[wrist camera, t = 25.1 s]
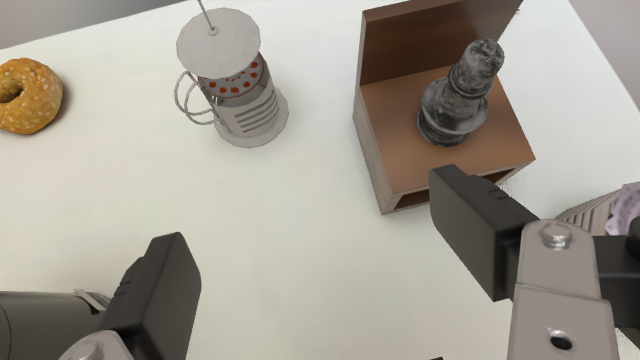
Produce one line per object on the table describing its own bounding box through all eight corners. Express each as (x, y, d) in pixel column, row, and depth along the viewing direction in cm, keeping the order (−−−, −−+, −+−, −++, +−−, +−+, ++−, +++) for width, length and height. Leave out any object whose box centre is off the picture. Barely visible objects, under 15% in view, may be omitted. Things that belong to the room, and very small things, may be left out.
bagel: (-6, 81, 50) (-39, 59, 46) (73, 66, 50) (47, 43, 46) (-13, 145, 47) (-50, 128, 42) (70, 129, 47) (42, 111, 43)
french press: (303, 113, 47) (271, -80, 23) (235, 172, 44) (121, 27, 21) (254, 68, 49) (179, -148, 25) (187, 122, 47) (36, -59, 23)
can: (566, 326, 37) (666, 337, 26) (519, 222, 41) (589, 192, 30) (667, 296, 38) (809, 295, 27) (612, 196, 41) (716, 157, 30)
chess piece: (466, 93, 36) (526, 0, 25) (480, 147, 34) (551, 72, 23) (408, 99, 36) (442, 9, 25) (419, 153, 35) (460, 81, 23)
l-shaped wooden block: (496, 187, 42) (604, 112, 25) (381, 215, 42) (413, 157, 25) (456, 93, 47) (527, -26, 30) (352, 117, 46) (362, 10, 29)
